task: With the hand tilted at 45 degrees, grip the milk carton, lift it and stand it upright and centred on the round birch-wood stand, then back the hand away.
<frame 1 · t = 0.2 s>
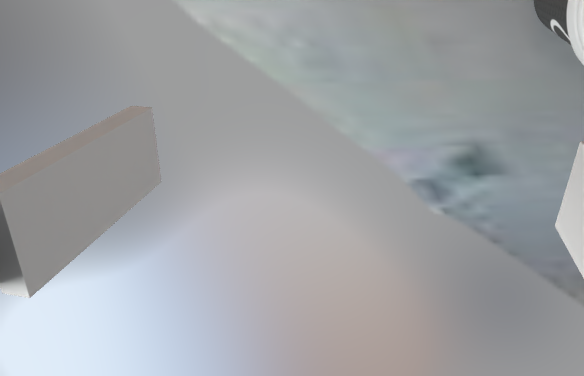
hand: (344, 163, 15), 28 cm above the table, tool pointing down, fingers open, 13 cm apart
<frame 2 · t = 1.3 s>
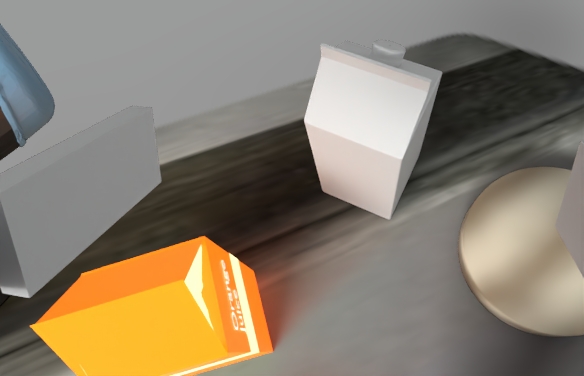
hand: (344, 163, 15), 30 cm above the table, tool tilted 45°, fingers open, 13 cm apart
orange juice: (219, 323, 43), on the table
birch stand: (540, 253, 41), on the table
milk carton: (370, 175, 46), on the table
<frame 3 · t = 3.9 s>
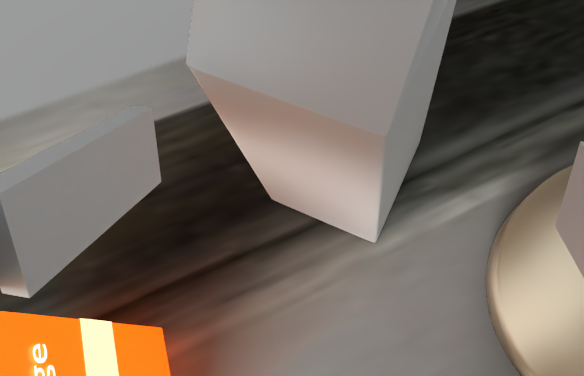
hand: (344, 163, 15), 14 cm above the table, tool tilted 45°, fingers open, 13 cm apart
milk carton: (345, 172, 30), on the table
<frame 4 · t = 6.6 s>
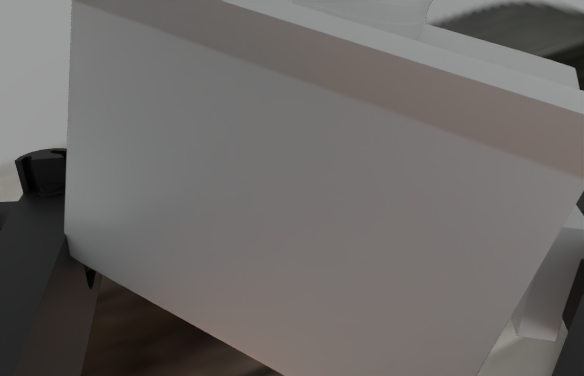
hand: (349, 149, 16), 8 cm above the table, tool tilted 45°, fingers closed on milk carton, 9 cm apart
milk carton: (346, 281, 23), on the table, touching gripper
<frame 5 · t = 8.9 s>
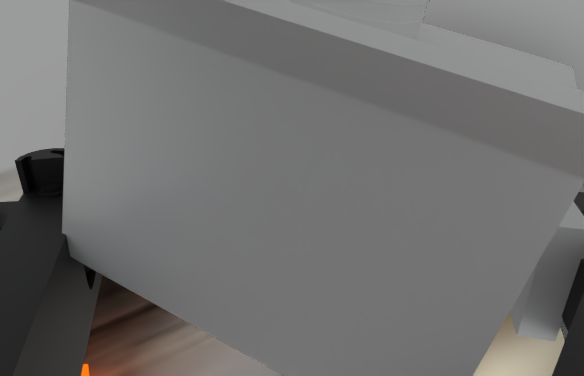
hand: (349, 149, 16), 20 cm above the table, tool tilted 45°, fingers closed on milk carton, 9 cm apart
birch stand: (439, 347, 32), on the table
milk carton: (346, 280, 23), point 12 cm above the table, touching gripper
when the fingers open (13 cm above the table, at t = 11.6 s): milk carton drops 1 cm, resting on birch stand.
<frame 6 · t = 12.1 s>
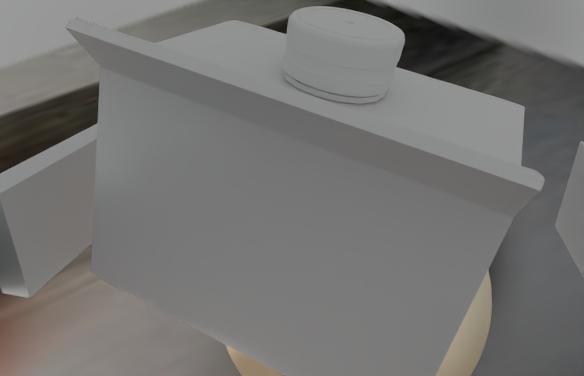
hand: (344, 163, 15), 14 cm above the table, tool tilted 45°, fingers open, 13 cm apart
birch stand: (349, 291, 27), on the table
milk carton: (341, 286, 24), point 3 cm above the table, touching birch stand
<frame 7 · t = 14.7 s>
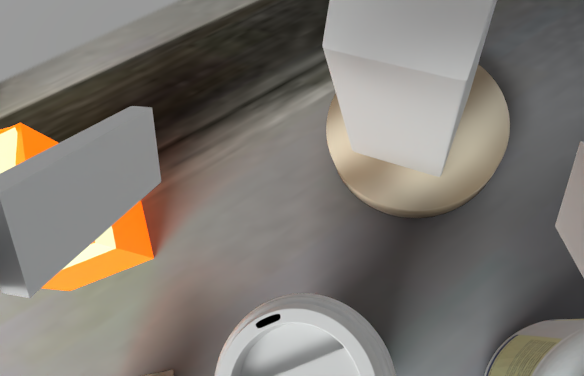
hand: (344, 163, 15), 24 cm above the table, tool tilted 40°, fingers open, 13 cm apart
orange juice: (105, 237, 44), on the table
birch stand: (413, 137, 39), on the table
coffee cup: (336, 366, 36), on the table
milk carton: (409, 125, 37), point 3 cm above the table, touching birch stand
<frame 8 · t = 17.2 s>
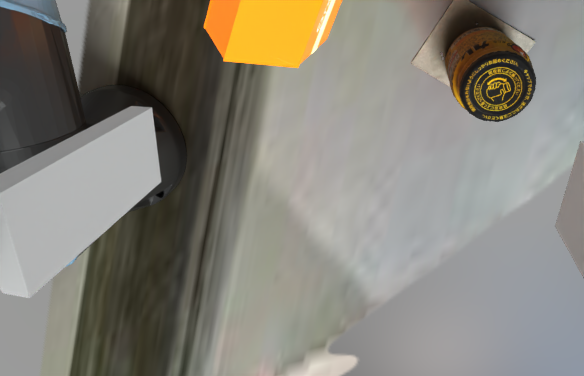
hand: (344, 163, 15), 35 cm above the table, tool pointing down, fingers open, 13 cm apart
condiment: (470, 52, 45), on the table
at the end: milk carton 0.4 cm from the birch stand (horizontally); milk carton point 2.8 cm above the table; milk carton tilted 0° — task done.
